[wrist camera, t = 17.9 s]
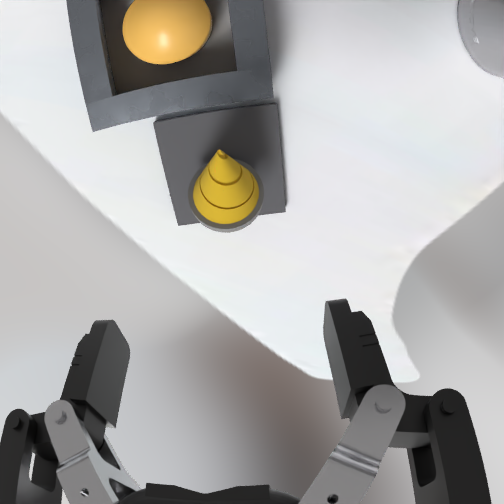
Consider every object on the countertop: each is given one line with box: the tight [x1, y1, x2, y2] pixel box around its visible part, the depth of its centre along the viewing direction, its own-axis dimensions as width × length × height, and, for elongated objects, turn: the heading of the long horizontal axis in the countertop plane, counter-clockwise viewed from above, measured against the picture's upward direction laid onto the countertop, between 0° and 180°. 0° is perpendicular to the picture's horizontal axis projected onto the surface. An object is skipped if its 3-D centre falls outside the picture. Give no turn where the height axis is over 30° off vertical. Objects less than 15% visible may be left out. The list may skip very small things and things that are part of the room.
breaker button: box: [123, 0, 212, 64], centre depth 16 cm, size 6×6×2 cm
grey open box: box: [66, 0, 274, 132], centre depth 16 cm, size 12×12×4 cm
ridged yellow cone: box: [188, 150, 264, 232], centre depth 21 cm, size 5×5×10 cm
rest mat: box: [153, 103, 286, 226], centre depth 24 cm, size 9×9×1 cm
